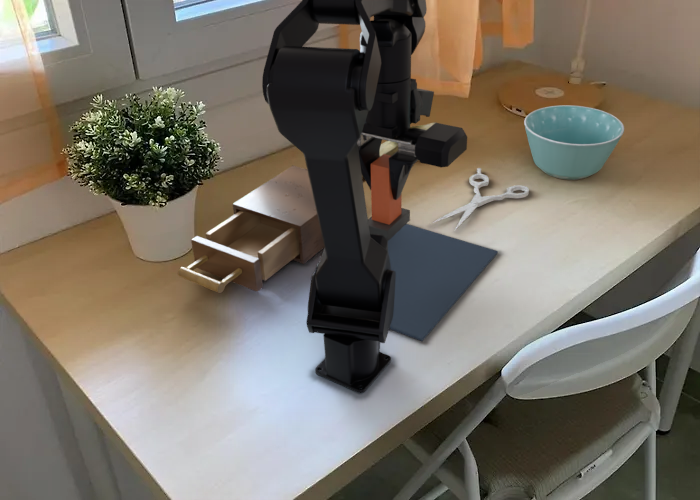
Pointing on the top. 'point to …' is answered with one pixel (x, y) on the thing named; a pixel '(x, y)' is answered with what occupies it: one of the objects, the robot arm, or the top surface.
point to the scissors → (484, 197)
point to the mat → (430, 276)
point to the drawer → (242, 252)
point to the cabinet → (288, 208)
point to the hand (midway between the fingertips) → (386, 195)
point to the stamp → (385, 202)
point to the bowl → (571, 139)
